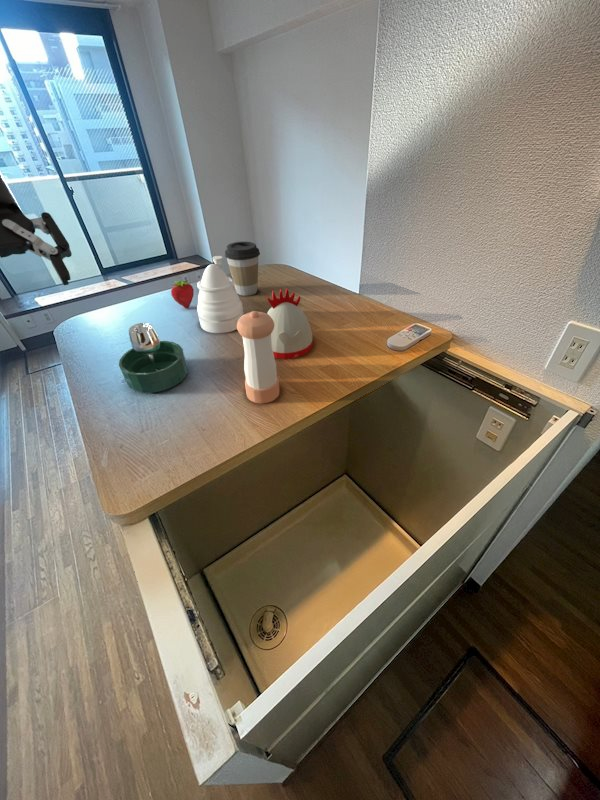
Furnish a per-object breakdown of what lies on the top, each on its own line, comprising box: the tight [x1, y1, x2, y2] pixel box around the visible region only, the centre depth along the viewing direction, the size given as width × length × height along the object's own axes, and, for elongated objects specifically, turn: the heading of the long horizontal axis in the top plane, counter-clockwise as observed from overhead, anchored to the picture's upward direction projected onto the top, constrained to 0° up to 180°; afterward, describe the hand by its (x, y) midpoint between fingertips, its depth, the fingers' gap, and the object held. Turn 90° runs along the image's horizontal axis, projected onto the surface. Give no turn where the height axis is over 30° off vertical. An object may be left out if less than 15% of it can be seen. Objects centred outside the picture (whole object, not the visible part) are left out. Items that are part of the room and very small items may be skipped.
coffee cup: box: [224, 241, 261, 297], centre depth 108 cm, size 11×11×15 cm
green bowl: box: [118, 340, 189, 394], centre depth 75 cm, size 14×14×6 cm
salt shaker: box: [236, 310, 280, 404], centre depth 65 cm, size 7×7×19 cm
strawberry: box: [170, 275, 195, 309], centre depth 100 cm, size 6×8×10 cm
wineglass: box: [128, 322, 164, 373], centre depth 72 cm, size 6×6×12 cm
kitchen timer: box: [266, 287, 313, 360], centre depth 82 cm, size 14×14×15 cm
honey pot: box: [196, 255, 245, 334], centre depth 90 cm, size 13×13×18 cm
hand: (33, 289), depth 47 cm, fingers open, 8 cm apart
